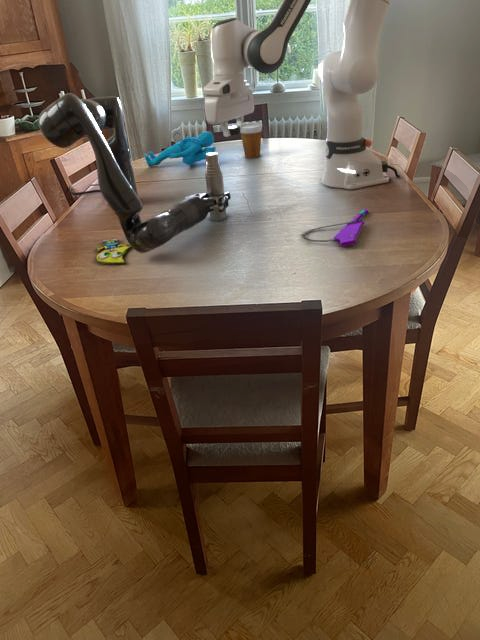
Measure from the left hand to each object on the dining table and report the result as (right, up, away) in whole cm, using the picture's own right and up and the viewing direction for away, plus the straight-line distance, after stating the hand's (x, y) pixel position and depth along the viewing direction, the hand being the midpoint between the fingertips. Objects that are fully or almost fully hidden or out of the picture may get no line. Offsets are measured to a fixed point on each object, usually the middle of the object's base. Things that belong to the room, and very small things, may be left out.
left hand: (221, 194), depth 144 cm
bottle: (-1, -7, +2) cm, 7 cm away
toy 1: (-29, -20, -15) cm, 38 cm away
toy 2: (-18, +27, +56) cm, 65 cm away
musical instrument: (+32, -13, -14) cm, 37 cm away
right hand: (+4, +19, +3) cm, 20 cm away
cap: (+3, +21, +3) cm, 21 cm away
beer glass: (+11, +32, +59) cm, 68 cm away
